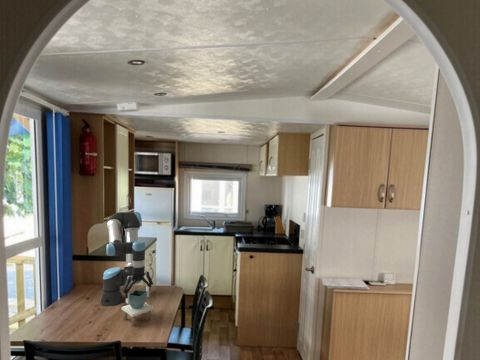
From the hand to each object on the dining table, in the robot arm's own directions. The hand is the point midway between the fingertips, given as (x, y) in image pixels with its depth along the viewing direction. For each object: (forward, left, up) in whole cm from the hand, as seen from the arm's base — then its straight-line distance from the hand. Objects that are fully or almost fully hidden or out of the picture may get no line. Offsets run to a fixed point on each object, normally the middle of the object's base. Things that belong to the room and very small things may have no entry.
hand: (137, 299), depth 179 cm
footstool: (0, 0, -13) cm, 13 cm away
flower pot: (0, 0, -5) cm, 5 cm away
